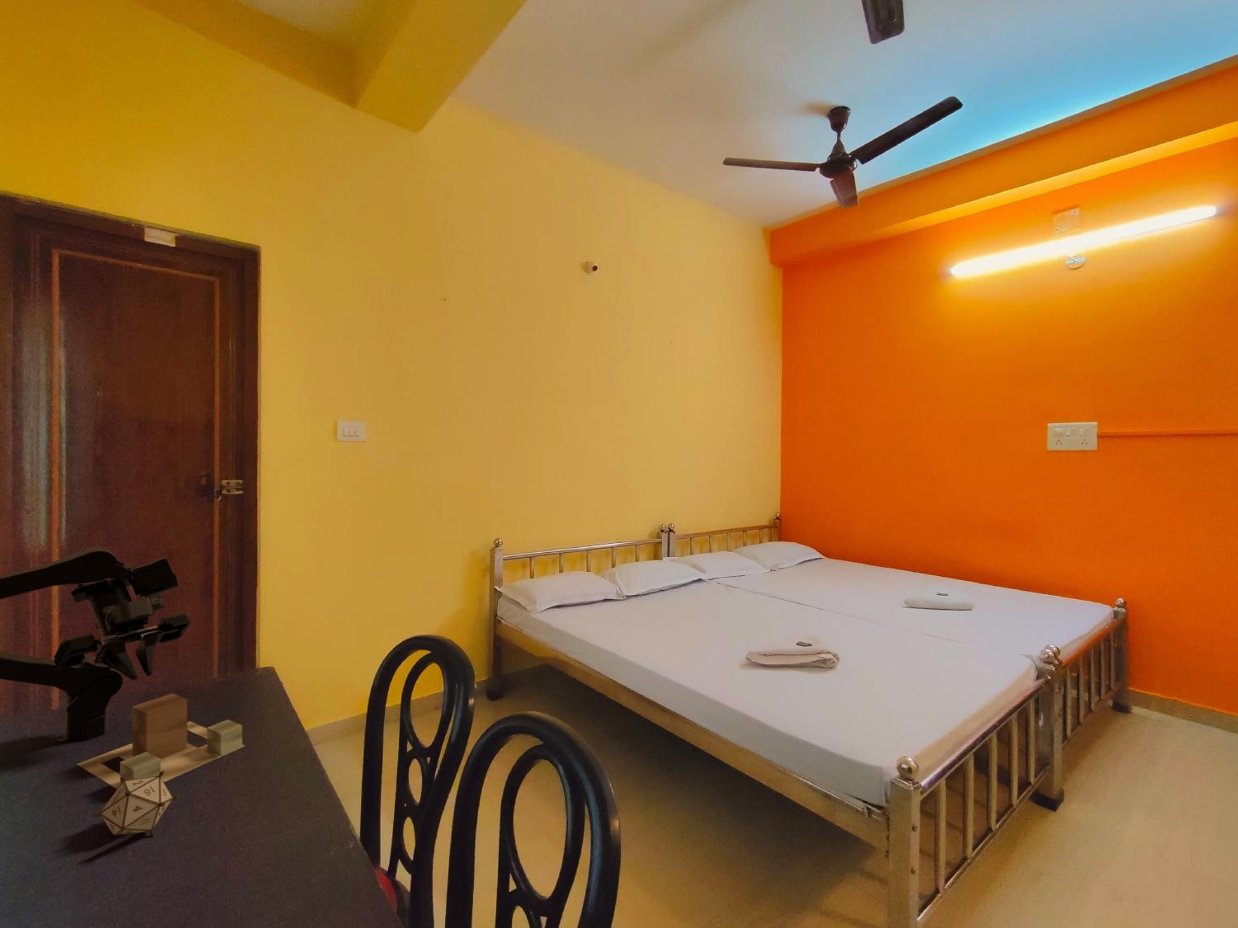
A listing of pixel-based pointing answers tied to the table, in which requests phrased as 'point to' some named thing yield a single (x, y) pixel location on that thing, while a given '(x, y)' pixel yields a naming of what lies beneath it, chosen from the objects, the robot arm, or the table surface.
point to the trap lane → (147, 765)
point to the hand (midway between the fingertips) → (143, 677)
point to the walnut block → (160, 726)
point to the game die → (136, 805)
